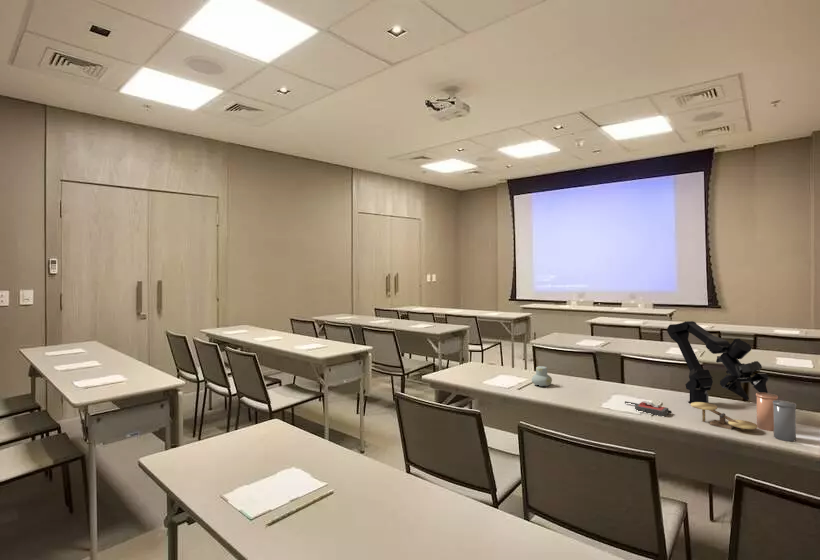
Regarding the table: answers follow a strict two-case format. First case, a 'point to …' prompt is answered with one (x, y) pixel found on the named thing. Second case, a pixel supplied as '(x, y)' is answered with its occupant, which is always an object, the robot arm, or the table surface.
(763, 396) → the terracotta cup
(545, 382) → the air freshener
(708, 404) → the balance
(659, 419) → the table surface
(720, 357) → the robot arm
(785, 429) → the charcoal cup
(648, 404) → the walkie-talkie
